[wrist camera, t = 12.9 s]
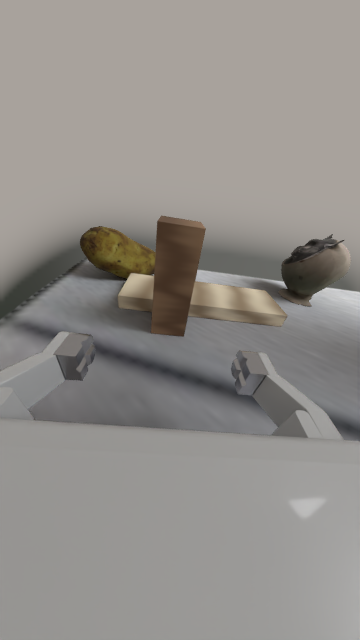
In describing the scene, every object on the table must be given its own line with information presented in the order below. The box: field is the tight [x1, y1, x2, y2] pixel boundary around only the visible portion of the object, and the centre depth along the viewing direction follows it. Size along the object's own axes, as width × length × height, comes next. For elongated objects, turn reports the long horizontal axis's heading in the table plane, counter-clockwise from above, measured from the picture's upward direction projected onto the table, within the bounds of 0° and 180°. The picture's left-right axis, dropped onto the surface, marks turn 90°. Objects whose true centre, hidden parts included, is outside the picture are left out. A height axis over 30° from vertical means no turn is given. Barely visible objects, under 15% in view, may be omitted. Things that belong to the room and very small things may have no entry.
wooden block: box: [151, 216, 206, 337], centre depth 22 cm, size 4×11×12 cm, turn 0°
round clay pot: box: [279, 235, 351, 306], centre depth 34 cm, size 10×12×10 cm
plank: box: [118, 273, 287, 327], centre depth 28 cm, size 24×8×2 cm, turn 90°
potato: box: [80, 226, 156, 279], centre depth 31 cm, size 8×13×8 cm, turn 96°
